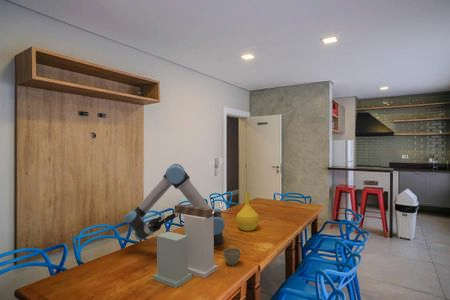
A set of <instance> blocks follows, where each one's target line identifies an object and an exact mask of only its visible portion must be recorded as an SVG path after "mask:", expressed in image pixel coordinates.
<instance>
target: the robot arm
mask: <svg viewBox="0 0 450 300" xmlns="http://www.w3.org/2000/svg"><path fill="white" fill-rule="evenodd" d="M190 179H191V177H190V176H189V174H188V173H187V172H186V171H185V168H184V167H183V165H181V164H179V163H173V164H171V165H170V166H169V167H168V168H167V169H166V170H165V173H164V175H162V178H161V180H160V181H159V183H158V184H157V185H156V186H155V187H154V188H153V189H152V190H151V191H150V192H149V194H148V195H147V196H146V197H145V198H144V199H143V200H142V202H140V204H138V206H137V207H136V209H134V210H130V211H129V212H128V213H127V214H126V215H125V216H124V217H123V219H124V220H125V222H126V223H127V225H129V226H130V228H132V229H133V231H134V236H135V238H136V240H139V241H142V240H145V239H146V238H148V237H149V236H151V235H154V233H156V232H157V231H159V230H160V229H161V228H162V226H163V225H164V224H165V223H166V224H167V223H168V222H169V221H172V220H174V219H176V218H177V217H180V215H181V214H180V213H175V211H174V212H173V213H172V214H169V215H166V212H164V213H162V214H160V215H159V216H157V217H155V218H152V219H151V220H149V221H148V222H146V223H145V221H144V220H143V218H144V217H146V215H147V213H148V212H149V211H150V210H151V209H153V207H154V205H156V203H157V202H158V201H159V200H160V199H161V198H162V197H163V196H164V194H165V193H166V192H167V191H168V190H169V189H170V188H171V187H172V186H173V187H174V189H176V190H179V191H180V193H182V195H183V197H185V198H186V200H187V201H188V202H189V204H190V206H195V207H202V208H209V209H213V229H214V246H219V245H221V244H223V243H224V242H225V237H224V235H223V231H225V228H226V227H225V225H226V223H225V220H224V218H223V217H222V210H221V209H220V208H211V206H210V204H209V203H208V202H207V201H206V200H205V198H204V197H203V196H202V195H201V193H200V192H199V191H198V189H197V188H196V187H195V186H194V185H193V183H192V182H191V180H190Z"/></svg>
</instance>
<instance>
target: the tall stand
mask: <svg viewBox="0 0 450 300" xmlns="http://www.w3.org/2000/svg"><path fill="white" fill-rule="evenodd" d="M183 223H184V225H183V226H184V227H183V228H184V234H183V235H186V236H188V273H191V274H192V276H196V277H199V278H202V279H205V278H207V277H209V276H210V275H211V274H213V273H214V272H216V271H218V269H219V267H218V266H219V265H217V264H215V249H214V248H215V247H214V246H215V245H214V229H213V216H212V217H210V218H204V217H198V216H192V215H186V214H183Z"/></svg>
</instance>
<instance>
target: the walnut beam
mask: <svg viewBox="0 0 450 300" xmlns="http://www.w3.org/2000/svg"><path fill="white" fill-rule="evenodd" d="M213 209H214V208H211V209H209V208H202V207H195V206H192V205H188V204H187V205H186V204H180V203H179V204H177V205H174V212H175V213H180V215H192V216H198V217H204V218H210V217H212V216H213Z"/></svg>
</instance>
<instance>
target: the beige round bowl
mask: <svg viewBox="0 0 450 300" xmlns="http://www.w3.org/2000/svg"><path fill="white" fill-rule="evenodd" d="M222 253H223V255H224V259H225V262H226V263H227V264H228V266H236V265H237V264H238V262H239V260H240V258H241V257H240V256H241V254H242V251H241V249H239V248H236V247H228V248H226V249H224V250H223V252H222Z"/></svg>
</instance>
